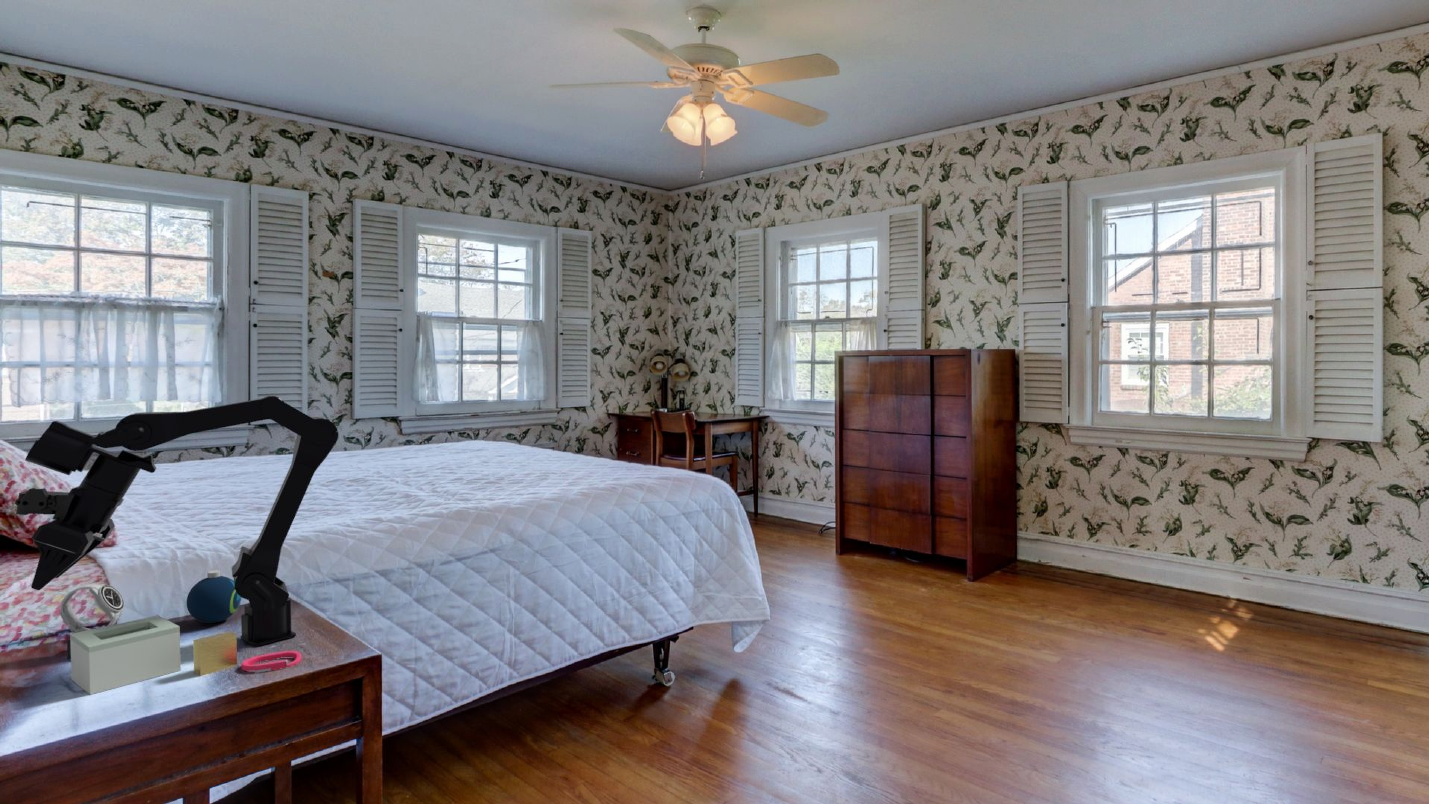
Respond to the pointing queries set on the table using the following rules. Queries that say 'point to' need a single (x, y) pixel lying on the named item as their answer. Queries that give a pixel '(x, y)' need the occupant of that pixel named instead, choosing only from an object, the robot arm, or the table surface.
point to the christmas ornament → (213, 598)
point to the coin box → (124, 653)
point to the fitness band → (271, 666)
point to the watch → (104, 599)
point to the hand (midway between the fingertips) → (44, 582)
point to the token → (215, 653)
